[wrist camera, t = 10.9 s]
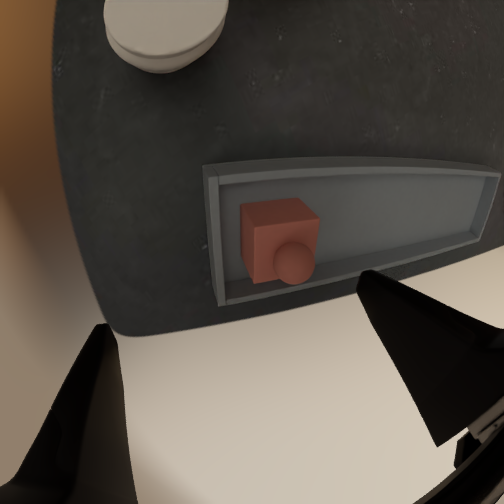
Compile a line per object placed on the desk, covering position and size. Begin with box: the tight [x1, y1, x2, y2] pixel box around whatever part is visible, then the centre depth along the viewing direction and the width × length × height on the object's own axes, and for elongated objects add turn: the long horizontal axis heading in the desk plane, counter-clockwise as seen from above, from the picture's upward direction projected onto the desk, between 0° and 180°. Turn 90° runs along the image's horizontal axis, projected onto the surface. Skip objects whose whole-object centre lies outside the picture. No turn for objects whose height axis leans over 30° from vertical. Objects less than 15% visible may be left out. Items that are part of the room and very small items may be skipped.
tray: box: [202, 156, 501, 307], centre depth 24 cm, size 35×10×2 cm, turn 90°
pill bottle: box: [104, 0, 229, 73], centre depth 9 cm, size 5×5×8 cm
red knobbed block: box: [240, 198, 320, 284], centre depth 19 cm, size 4×4×6 cm
